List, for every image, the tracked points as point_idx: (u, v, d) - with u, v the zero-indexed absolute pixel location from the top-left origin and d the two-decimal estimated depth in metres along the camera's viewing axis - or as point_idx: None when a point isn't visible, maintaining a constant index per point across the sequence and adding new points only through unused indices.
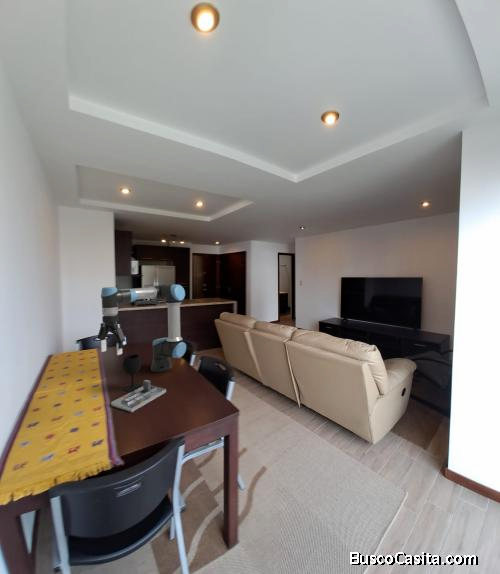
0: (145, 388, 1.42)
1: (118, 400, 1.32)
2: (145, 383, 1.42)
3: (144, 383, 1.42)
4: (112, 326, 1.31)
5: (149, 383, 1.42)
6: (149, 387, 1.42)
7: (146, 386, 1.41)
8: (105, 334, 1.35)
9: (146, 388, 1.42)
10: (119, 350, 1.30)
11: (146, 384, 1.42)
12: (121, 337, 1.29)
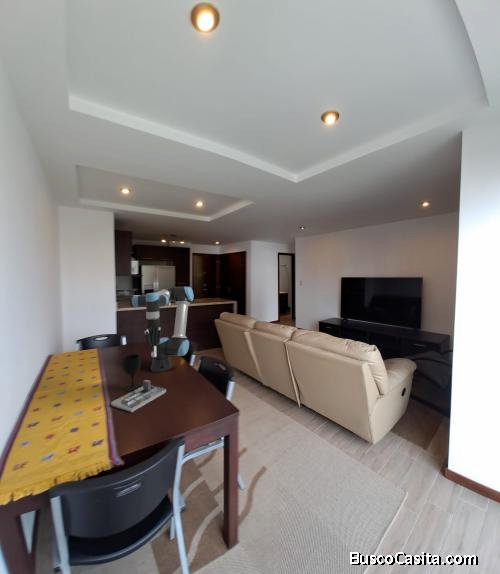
0: (145, 388, 1.42)
1: (118, 400, 1.32)
2: (145, 383, 1.42)
3: (144, 383, 1.42)
4: None
5: (149, 383, 1.42)
6: (149, 387, 1.42)
7: (146, 386, 1.41)
8: (154, 338, 1.48)
9: (146, 388, 1.42)
10: (152, 353, 1.47)
11: (146, 384, 1.42)
12: (147, 343, 1.44)
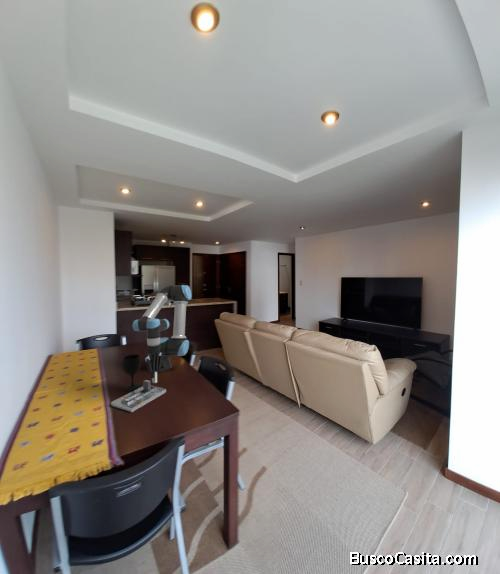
0: (145, 388, 1.42)
1: (118, 400, 1.32)
2: (145, 383, 1.42)
3: (144, 383, 1.42)
4: None
5: (149, 383, 1.42)
6: (149, 387, 1.42)
7: (146, 386, 1.41)
8: None
9: (146, 388, 1.42)
10: (153, 379, 1.47)
11: (146, 384, 1.42)
12: (148, 369, 1.44)
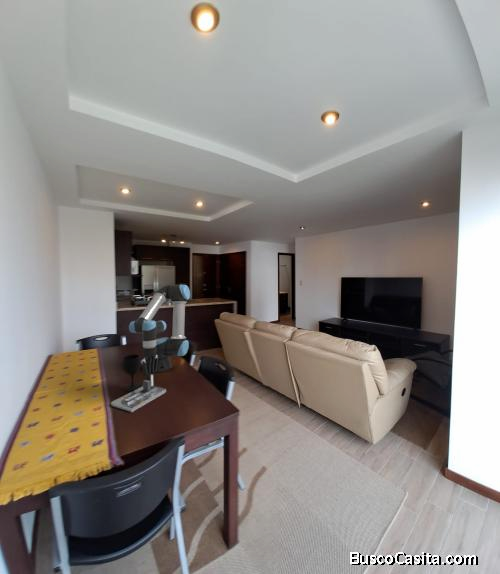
0: (145, 388, 1.42)
1: (118, 400, 1.32)
2: (145, 383, 1.42)
3: (144, 383, 1.42)
4: None
5: (149, 383, 1.42)
6: (149, 387, 1.42)
7: (146, 386, 1.41)
8: None
9: (146, 388, 1.41)
10: None
11: (146, 384, 1.41)
12: (144, 372, 1.41)
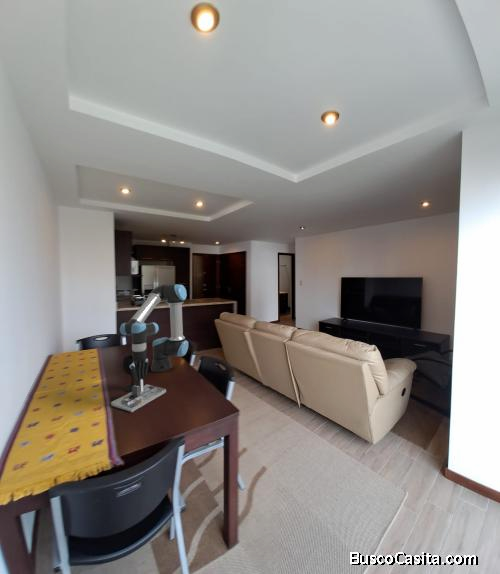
0: (134, 394, 1.35)
1: (118, 400, 1.32)
2: (134, 388, 1.35)
3: (133, 388, 1.35)
4: None
5: (138, 388, 1.35)
6: (138, 393, 1.35)
7: (135, 392, 1.35)
8: (140, 370, 1.39)
9: (135, 394, 1.35)
10: None
11: (135, 389, 1.35)
12: (133, 377, 1.35)
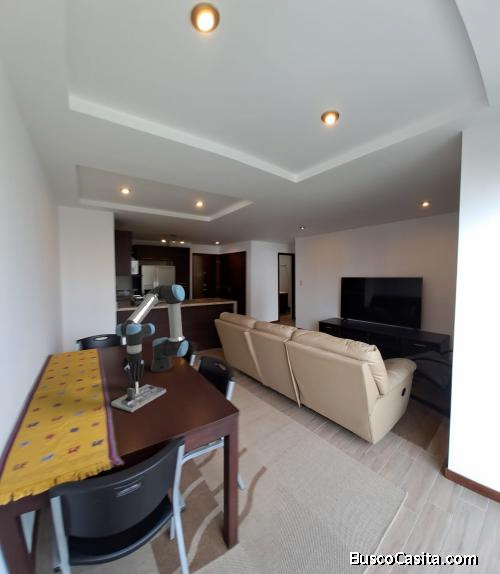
0: (129, 396, 1.32)
1: (118, 400, 1.32)
2: (129, 391, 1.32)
3: (128, 391, 1.32)
4: None
5: (133, 391, 1.32)
6: (133, 395, 1.32)
7: (130, 394, 1.32)
8: None
9: (130, 396, 1.32)
10: None
11: (130, 391, 1.32)
12: (128, 379, 1.32)
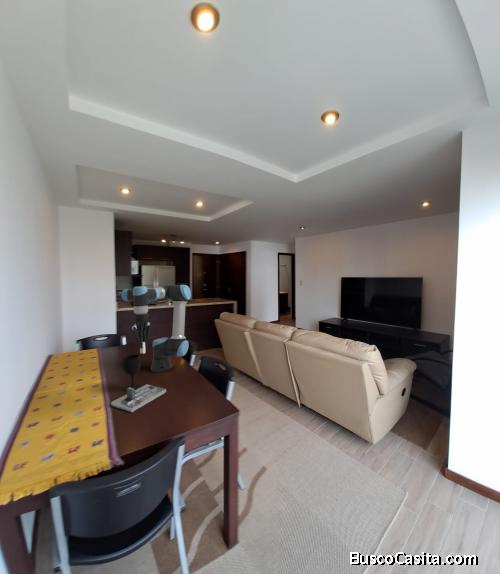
0: (129, 396, 1.32)
1: (118, 400, 1.32)
2: (129, 391, 1.32)
3: (128, 391, 1.32)
4: None
5: (133, 391, 1.32)
6: (133, 395, 1.32)
7: (130, 394, 1.32)
8: (142, 333, 1.41)
9: (130, 396, 1.32)
10: (141, 349, 1.40)
11: (129, 392, 1.32)
12: (135, 338, 1.36)
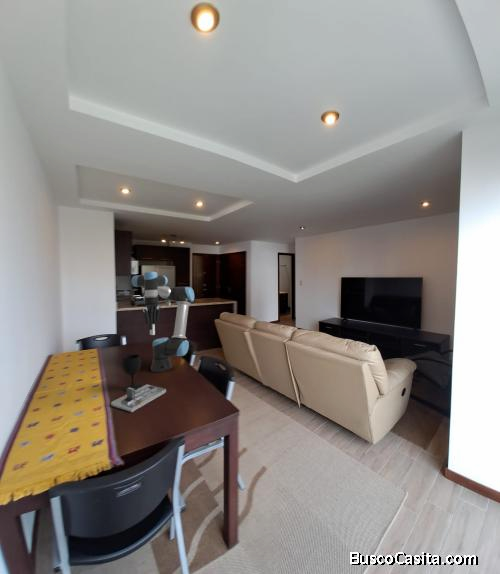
0: (129, 396, 1.32)
1: (118, 400, 1.32)
2: (129, 391, 1.32)
3: (128, 391, 1.32)
4: None
5: (133, 391, 1.32)
6: (133, 395, 1.32)
7: (130, 394, 1.32)
8: (152, 316, 1.49)
9: (130, 396, 1.32)
10: (151, 331, 1.48)
11: (129, 392, 1.32)
12: (146, 320, 1.45)
